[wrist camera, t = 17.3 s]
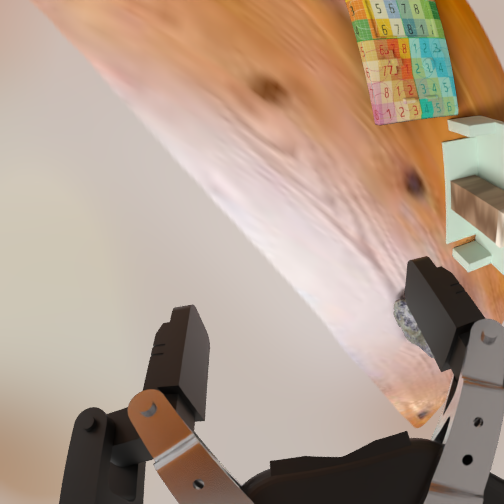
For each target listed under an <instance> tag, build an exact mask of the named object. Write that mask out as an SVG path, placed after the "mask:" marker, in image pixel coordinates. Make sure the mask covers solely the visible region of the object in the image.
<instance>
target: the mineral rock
mask: <svg viewBox="0 0 504 504" xmlns="http://www.w3.org/2000/svg"><path fill="white" fill-rule="evenodd" d="M394 310H395V311H394V317H395V319H396V321H397V323H398V325H399V327H401V328H402V331H403V332H404V334H405V337H406V338H407V339H408V340H409V341H410V342H411V343H413V344H415V345H417V346H419V347H420V348H421V349H422V350H423V351H425V352H426V353H427V354H428V355H429V356H430V357H431V358H434V356H433V354H432V352H431V350H430V348H429V346H428V344H427V342H426V340H425V338H424V336H423V335H422V333H421V331H420V329H419V327H418V325H417V323H416V321H415V319H414V318H413V316H412V314H411V312H410V310H409V308H408V306H407V303H406V300H405V299H404V300H401V299H400V300H397V301H395V304H394Z"/></svg>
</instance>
